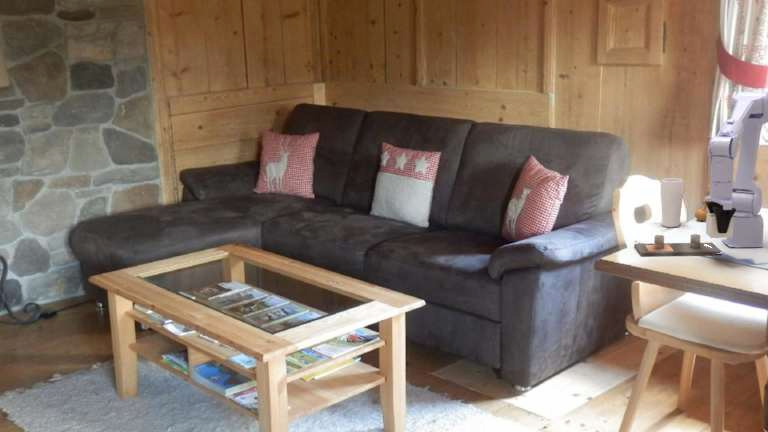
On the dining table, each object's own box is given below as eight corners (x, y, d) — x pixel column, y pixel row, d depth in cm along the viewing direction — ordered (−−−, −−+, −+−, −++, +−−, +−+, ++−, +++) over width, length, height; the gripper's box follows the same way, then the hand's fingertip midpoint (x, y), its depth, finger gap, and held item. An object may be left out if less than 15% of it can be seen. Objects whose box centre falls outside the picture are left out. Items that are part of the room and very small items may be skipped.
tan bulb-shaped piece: (695, 217, 281) (697, 181, 279) (715, 218, 279) (716, 182, 276) (694, 223, 274) (695, 186, 271) (714, 224, 272) (715, 187, 269)
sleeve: (727, 232, 234) (728, 213, 232) (732, 237, 228) (733, 217, 227) (705, 232, 234) (706, 213, 233) (711, 237, 229) (711, 218, 228)
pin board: (711, 245, 247) (712, 230, 246) (721, 255, 237) (722, 239, 236) (634, 247, 249) (634, 232, 248) (640, 256, 240) (641, 240, 239)
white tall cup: (683, 228, 268) (685, 181, 265) (660, 228, 269) (662, 181, 266) (680, 223, 274) (682, 177, 271) (658, 223, 276) (659, 177, 272)
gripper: (699, 176, 236) (697, 224, 239) (712, 186, 222) (710, 237, 225) (726, 175, 235) (724, 223, 238) (741, 185, 221) (738, 236, 224)
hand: (719, 230), depth 231 cm, fingers closed on sleeve, 6 cm apart
